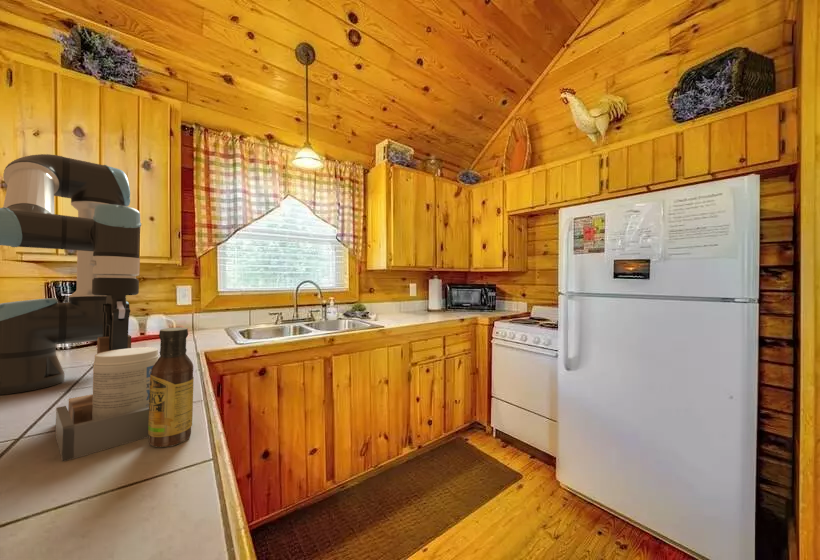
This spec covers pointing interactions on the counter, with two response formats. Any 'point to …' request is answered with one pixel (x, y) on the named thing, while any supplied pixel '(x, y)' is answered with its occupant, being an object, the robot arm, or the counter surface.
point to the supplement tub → (122, 380)
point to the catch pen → (98, 432)
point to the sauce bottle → (171, 391)
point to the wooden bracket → (83, 405)
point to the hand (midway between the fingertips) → (113, 385)
